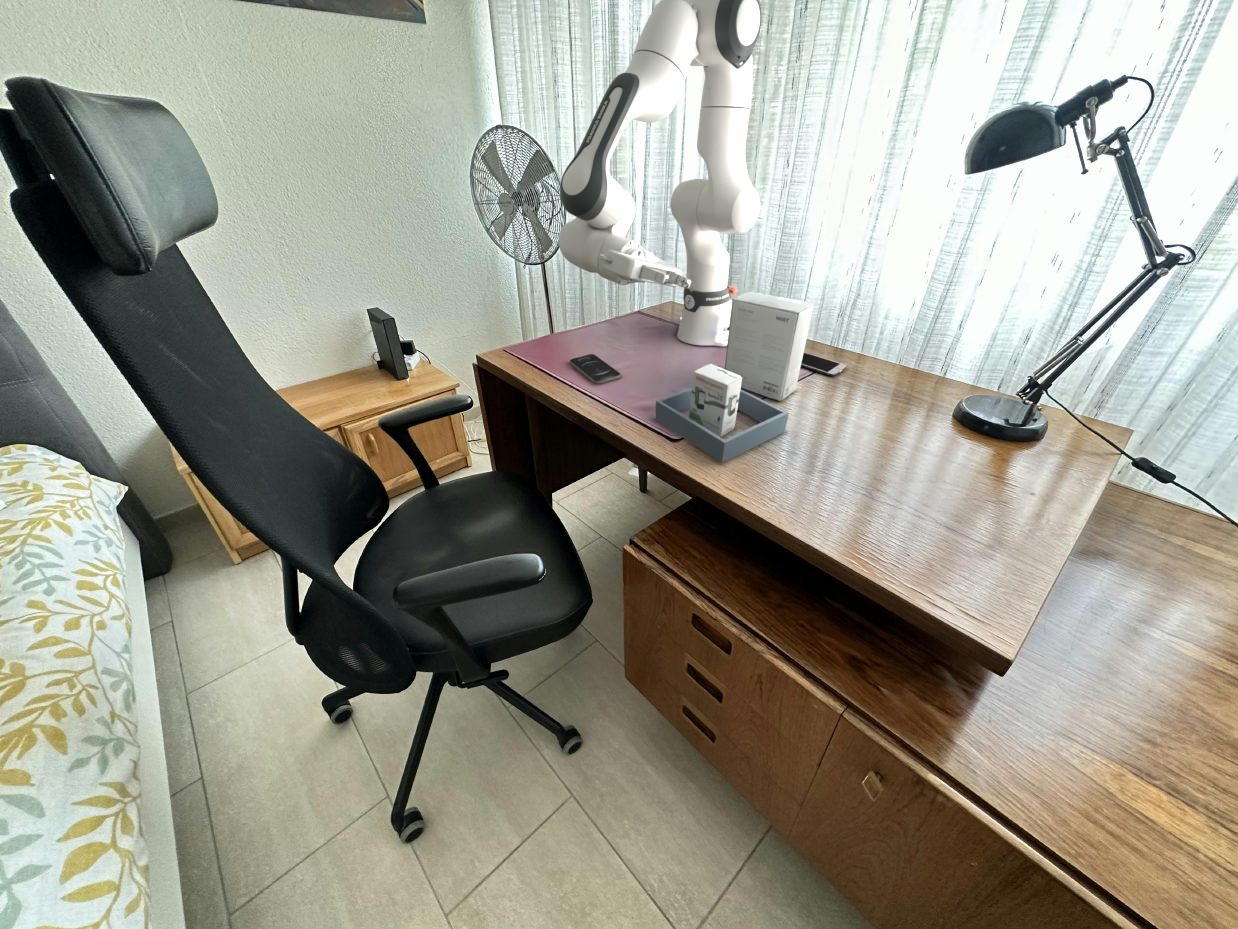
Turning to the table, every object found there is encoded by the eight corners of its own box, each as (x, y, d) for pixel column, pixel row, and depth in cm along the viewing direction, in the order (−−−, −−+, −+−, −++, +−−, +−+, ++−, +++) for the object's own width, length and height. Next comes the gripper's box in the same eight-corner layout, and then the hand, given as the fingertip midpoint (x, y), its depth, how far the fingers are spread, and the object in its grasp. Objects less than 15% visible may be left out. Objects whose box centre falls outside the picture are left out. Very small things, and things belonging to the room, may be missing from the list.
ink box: (687, 421, 99) (691, 369, 92) (702, 413, 102) (707, 362, 95) (720, 437, 94) (727, 384, 87) (735, 428, 96) (743, 375, 89)
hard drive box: (796, 390, 109) (816, 303, 97) (780, 402, 105) (799, 313, 93) (738, 371, 118) (749, 289, 106) (721, 382, 113) (731, 297, 101)
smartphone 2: (832, 377, 114) (833, 374, 113) (778, 359, 123) (778, 356, 122) (847, 368, 118) (848, 365, 117) (793, 351, 127) (793, 348, 126)
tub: (715, 395, 108) (717, 377, 105) (784, 432, 95) (788, 412, 92) (655, 419, 100) (655, 400, 97) (721, 463, 87) (724, 442, 84)
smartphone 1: (595, 382, 113) (568, 359, 123) (596, 385, 113) (568, 362, 124) (622, 374, 116) (593, 353, 126) (622, 377, 116) (593, 356, 127)
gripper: (596, 236, 88) (655, 258, 82) (652, 252, 104) (705, 271, 98) (587, 271, 91) (644, 294, 85) (643, 281, 107) (694, 301, 101)
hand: (677, 282), depth 92 cm, fingers open, 8 cm apart
